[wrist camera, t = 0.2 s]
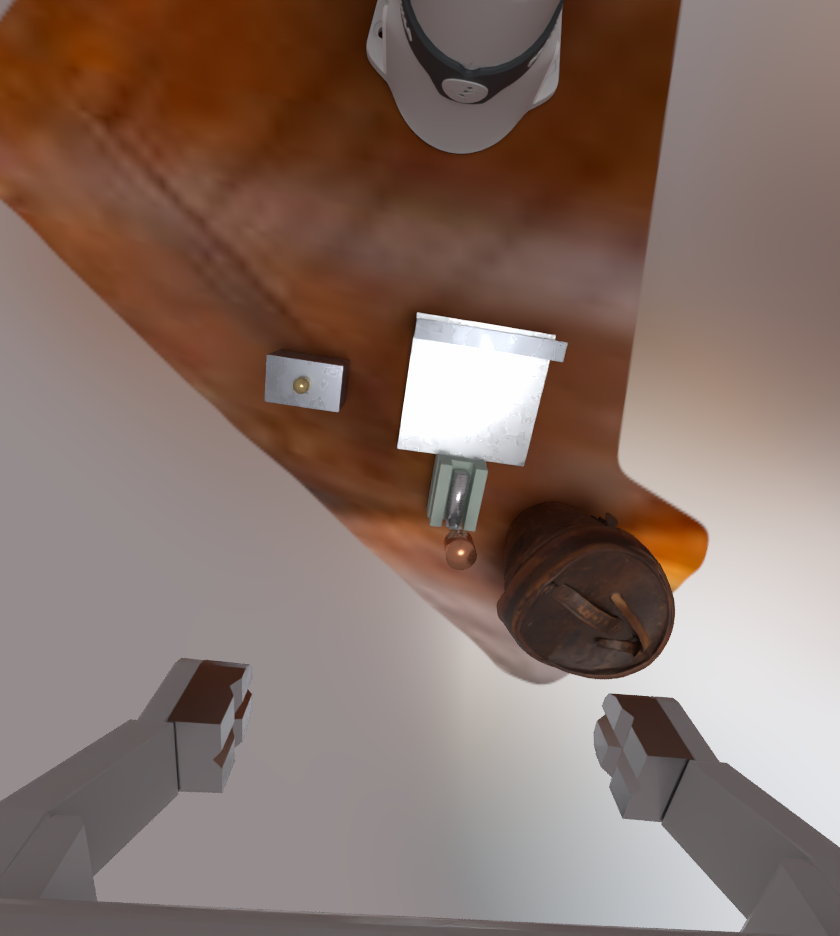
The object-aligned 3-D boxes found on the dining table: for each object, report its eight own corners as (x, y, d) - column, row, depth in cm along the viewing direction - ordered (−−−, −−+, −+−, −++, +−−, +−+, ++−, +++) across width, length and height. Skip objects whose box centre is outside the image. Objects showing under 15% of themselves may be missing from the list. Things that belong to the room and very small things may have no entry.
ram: (448, 468, 55) (456, 502, 46) (474, 471, 55) (487, 506, 46) (437, 524, 58) (443, 567, 48) (462, 527, 58) (473, 571, 48)
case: (614, 600, 66) (684, 700, 49) (476, 600, 66) (499, 700, 49) (634, 485, 60) (722, 552, 43) (484, 484, 60) (512, 551, 43)
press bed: (416, 312, 52) (417, 312, 47) (552, 334, 53) (569, 337, 48) (397, 444, 58) (396, 460, 52) (521, 462, 59) (532, 479, 53)
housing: (281, 349, 53) (262, 356, 46) (350, 359, 54) (341, 368, 47) (279, 391, 55) (260, 404, 48) (345, 401, 56) (336, 415, 49)
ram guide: (436, 450, 58) (439, 463, 53) (483, 457, 58) (489, 470, 53) (426, 507, 61) (428, 525, 56) (471, 513, 61) (476, 531, 56)
